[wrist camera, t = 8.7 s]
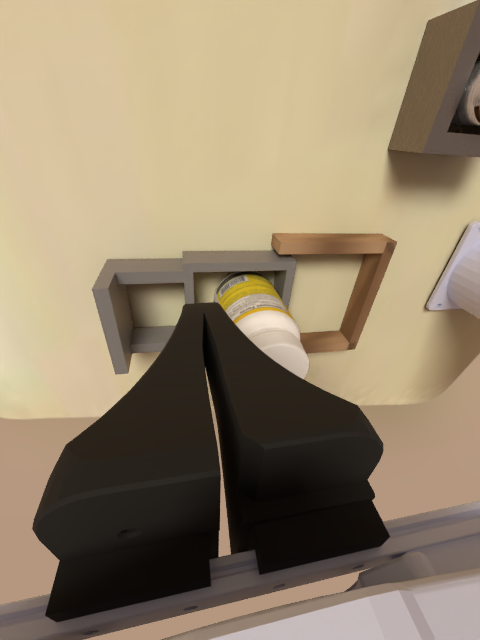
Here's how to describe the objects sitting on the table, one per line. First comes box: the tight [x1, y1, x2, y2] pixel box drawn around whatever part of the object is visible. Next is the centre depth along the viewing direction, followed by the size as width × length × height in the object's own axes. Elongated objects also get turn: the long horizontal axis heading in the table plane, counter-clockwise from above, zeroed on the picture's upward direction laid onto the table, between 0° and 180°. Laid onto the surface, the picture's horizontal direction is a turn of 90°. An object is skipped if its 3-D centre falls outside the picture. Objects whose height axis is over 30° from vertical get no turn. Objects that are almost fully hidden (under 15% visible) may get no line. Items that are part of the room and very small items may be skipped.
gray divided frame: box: [92, 251, 297, 374], centre depth 19 cm, size 12×7×4 cm, turn 86°
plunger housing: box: [388, 0, 480, 157], centre depth 15 cm, size 6×6×3 cm
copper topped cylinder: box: [450, 59, 480, 126], centre depth 14 cm, size 3×3×4 cm
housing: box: [271, 233, 397, 353], centre depth 22 cm, size 8×10×2 cm
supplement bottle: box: [214, 271, 309, 379], centre depth 18 cm, size 5×5×8 cm
